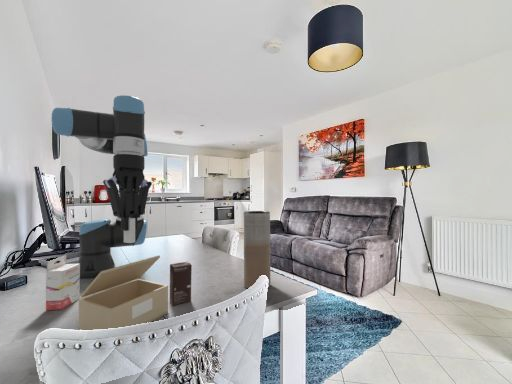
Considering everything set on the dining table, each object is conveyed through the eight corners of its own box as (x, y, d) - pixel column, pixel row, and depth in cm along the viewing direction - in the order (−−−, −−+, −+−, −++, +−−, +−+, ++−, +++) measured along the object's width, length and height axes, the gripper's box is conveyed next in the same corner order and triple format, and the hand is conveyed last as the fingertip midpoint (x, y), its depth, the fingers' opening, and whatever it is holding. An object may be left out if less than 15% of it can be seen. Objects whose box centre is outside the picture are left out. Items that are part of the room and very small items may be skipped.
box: (173, 306, 75) (172, 267, 75) (169, 301, 79) (169, 263, 79) (192, 301, 79) (192, 264, 79) (187, 296, 82) (187, 261, 83)
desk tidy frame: (38, 264, 123) (38, 259, 123) (82, 255, 141) (82, 251, 141) (59, 269, 114) (59, 264, 114) (103, 259, 132) (103, 254, 132)
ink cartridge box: (62, 310, 74) (62, 260, 74) (45, 310, 73) (45, 261, 73) (80, 298, 82) (80, 254, 82) (65, 298, 82) (65, 254, 82)
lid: (81, 297, 62) (80, 295, 62) (140, 277, 77) (139, 275, 77) (101, 273, 58) (100, 271, 58) (160, 257, 73) (159, 255, 73)
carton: (78, 331, 62) (78, 299, 62) (138, 304, 77) (138, 278, 77) (110, 345, 56) (110, 310, 56) (168, 313, 71) (168, 285, 71)
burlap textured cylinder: (239, 288, 89) (239, 212, 89) (250, 279, 98) (249, 210, 99) (265, 292, 85) (264, 213, 86) (273, 282, 95) (273, 211, 95)
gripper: (114, 150, 59) (114, 248, 59) (158, 157, 70) (158, 239, 70) (96, 152, 62) (96, 245, 62) (141, 159, 74) (141, 237, 74)
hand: (129, 242), depth 66 cm, fingers closed
